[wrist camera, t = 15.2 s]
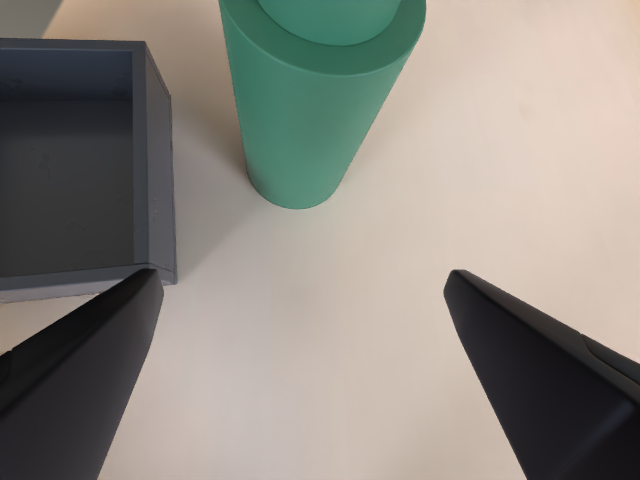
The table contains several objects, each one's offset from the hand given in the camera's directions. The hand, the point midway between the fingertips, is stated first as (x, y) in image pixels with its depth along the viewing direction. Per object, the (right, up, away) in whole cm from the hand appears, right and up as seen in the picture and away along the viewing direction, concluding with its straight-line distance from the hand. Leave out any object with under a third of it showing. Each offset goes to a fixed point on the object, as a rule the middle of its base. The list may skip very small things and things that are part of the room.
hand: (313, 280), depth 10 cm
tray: (-14, +4, +7) cm, 16 cm away
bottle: (-1, +6, +10) cm, 12 cm away
